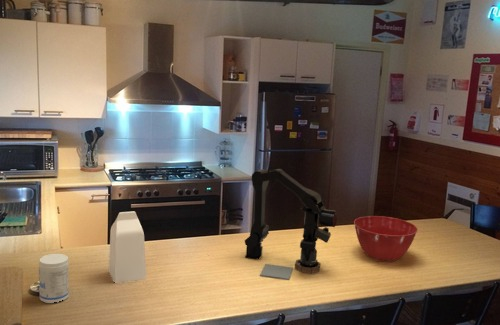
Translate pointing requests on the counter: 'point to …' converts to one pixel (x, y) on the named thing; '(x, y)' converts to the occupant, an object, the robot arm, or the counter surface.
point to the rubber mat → (276, 271)
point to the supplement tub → (53, 278)
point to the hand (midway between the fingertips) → (308, 257)
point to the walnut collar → (307, 268)
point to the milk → (127, 249)
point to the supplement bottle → (311, 261)
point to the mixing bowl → (384, 237)
